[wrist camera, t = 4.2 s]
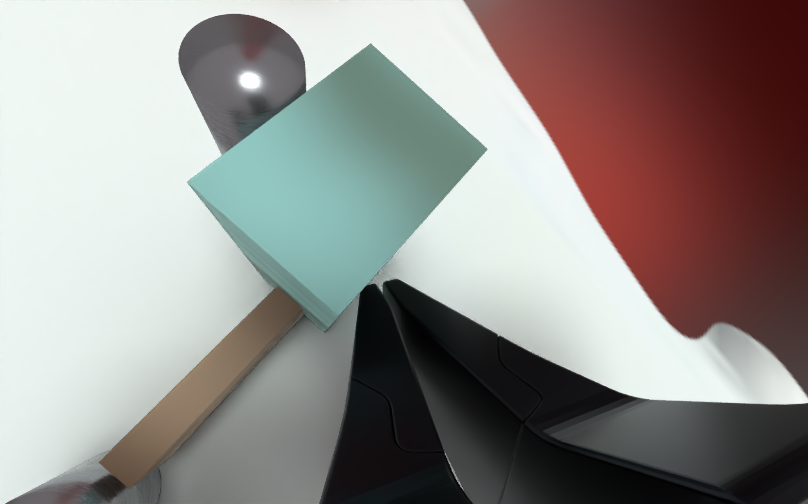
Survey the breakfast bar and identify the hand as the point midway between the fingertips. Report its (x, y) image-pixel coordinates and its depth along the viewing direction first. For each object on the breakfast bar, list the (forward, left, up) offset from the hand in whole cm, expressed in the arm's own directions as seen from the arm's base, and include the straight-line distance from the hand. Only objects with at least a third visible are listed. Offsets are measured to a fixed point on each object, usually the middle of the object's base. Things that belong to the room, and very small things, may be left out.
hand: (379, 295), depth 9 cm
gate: (+2, +2, -7) cm, 8 cm away
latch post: (+5, -1, -7) cm, 9 cm away
